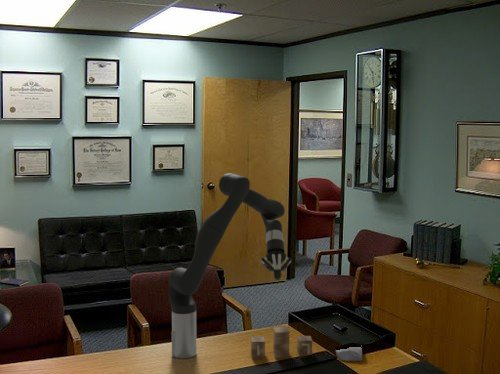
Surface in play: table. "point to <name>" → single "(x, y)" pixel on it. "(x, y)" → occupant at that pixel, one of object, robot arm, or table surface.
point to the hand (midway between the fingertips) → (277, 279)
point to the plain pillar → (281, 342)
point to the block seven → (304, 345)
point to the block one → (257, 347)
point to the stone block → (350, 354)
